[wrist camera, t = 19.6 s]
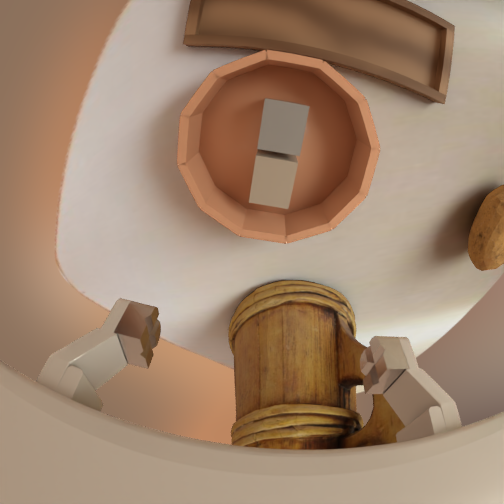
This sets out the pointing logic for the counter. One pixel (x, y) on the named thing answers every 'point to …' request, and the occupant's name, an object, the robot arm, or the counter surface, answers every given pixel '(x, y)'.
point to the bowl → (246, 142)
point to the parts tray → (336, 36)
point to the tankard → (301, 372)
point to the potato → (488, 232)
